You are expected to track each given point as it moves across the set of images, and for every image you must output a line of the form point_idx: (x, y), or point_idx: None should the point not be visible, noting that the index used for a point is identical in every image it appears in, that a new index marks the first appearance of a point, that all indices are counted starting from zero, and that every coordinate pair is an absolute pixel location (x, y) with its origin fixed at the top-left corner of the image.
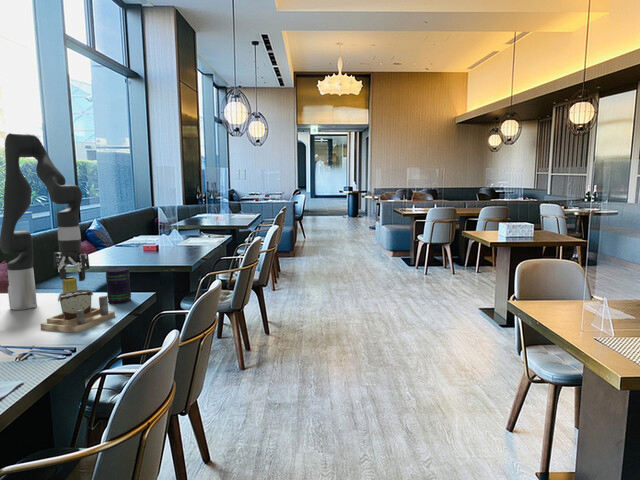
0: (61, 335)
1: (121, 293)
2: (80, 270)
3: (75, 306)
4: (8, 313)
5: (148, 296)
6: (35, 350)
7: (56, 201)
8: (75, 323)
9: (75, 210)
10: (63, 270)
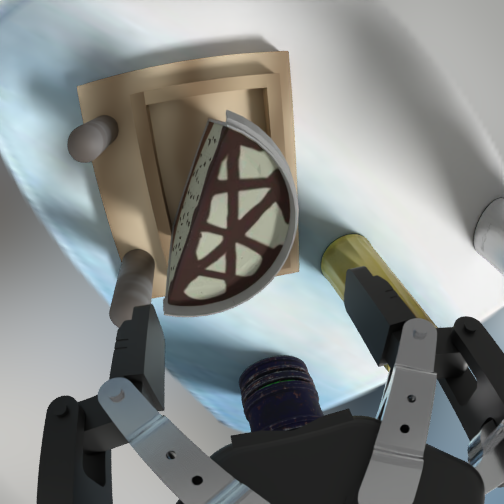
0: (117, 35)
1: (250, 399)
2: (107, 390)
3: (193, 188)
4: (499, 170)
5: (231, 423)
6: None
7: None
8: (131, 119)
9: None
10: (381, 341)
